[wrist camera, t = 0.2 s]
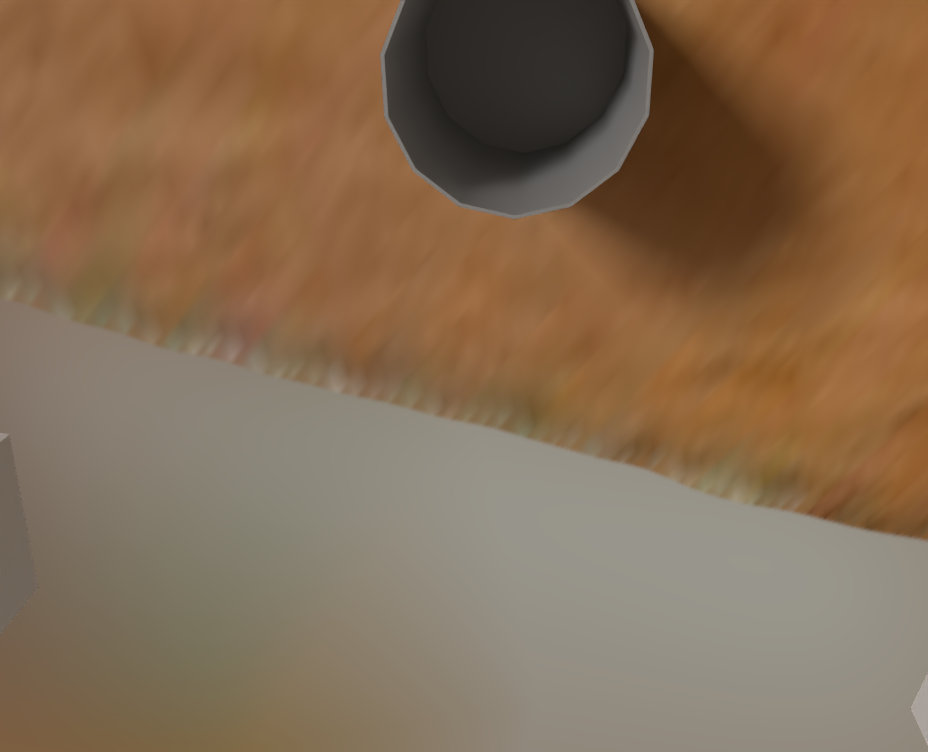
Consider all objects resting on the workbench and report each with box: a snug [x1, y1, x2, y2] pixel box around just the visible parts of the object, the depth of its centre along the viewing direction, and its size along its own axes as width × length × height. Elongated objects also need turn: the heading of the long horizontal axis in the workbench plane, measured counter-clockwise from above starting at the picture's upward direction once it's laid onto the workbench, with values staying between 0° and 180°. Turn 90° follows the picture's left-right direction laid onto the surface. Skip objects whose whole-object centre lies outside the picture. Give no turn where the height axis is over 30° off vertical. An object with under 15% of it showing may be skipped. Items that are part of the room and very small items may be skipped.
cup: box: [380, 0, 654, 219], centre depth 30 cm, size 8×8×10 cm
